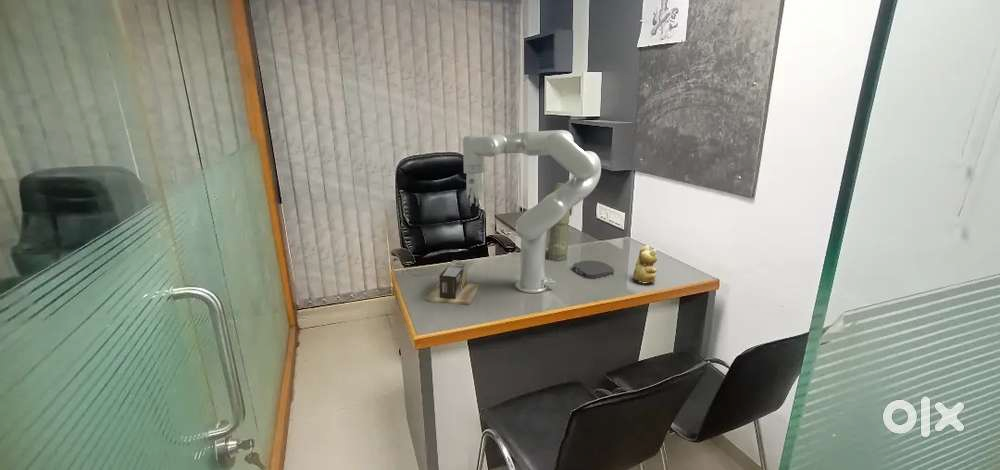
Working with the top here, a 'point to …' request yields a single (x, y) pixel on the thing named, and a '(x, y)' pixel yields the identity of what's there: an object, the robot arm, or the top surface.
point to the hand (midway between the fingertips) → (474, 215)
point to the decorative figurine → (646, 265)
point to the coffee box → (453, 279)
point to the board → (462, 298)
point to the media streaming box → (593, 269)
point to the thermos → (559, 235)
